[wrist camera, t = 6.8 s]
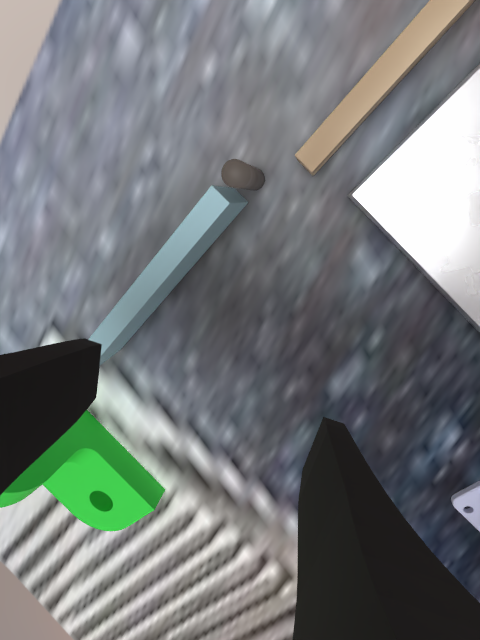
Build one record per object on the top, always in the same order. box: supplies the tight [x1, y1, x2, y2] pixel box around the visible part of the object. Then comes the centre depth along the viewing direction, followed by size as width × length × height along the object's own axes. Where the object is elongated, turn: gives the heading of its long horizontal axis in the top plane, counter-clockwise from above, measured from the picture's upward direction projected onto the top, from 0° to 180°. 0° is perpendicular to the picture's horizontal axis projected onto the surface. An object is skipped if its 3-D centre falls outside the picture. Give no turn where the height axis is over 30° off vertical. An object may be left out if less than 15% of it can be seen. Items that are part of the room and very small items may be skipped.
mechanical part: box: [0, 410, 165, 531], centre depth 23 cm, size 12×6×8 cm, turn 43°
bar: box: [88, 185, 248, 365], centre depth 18 cm, size 1×12×4 cm, turn 137°
